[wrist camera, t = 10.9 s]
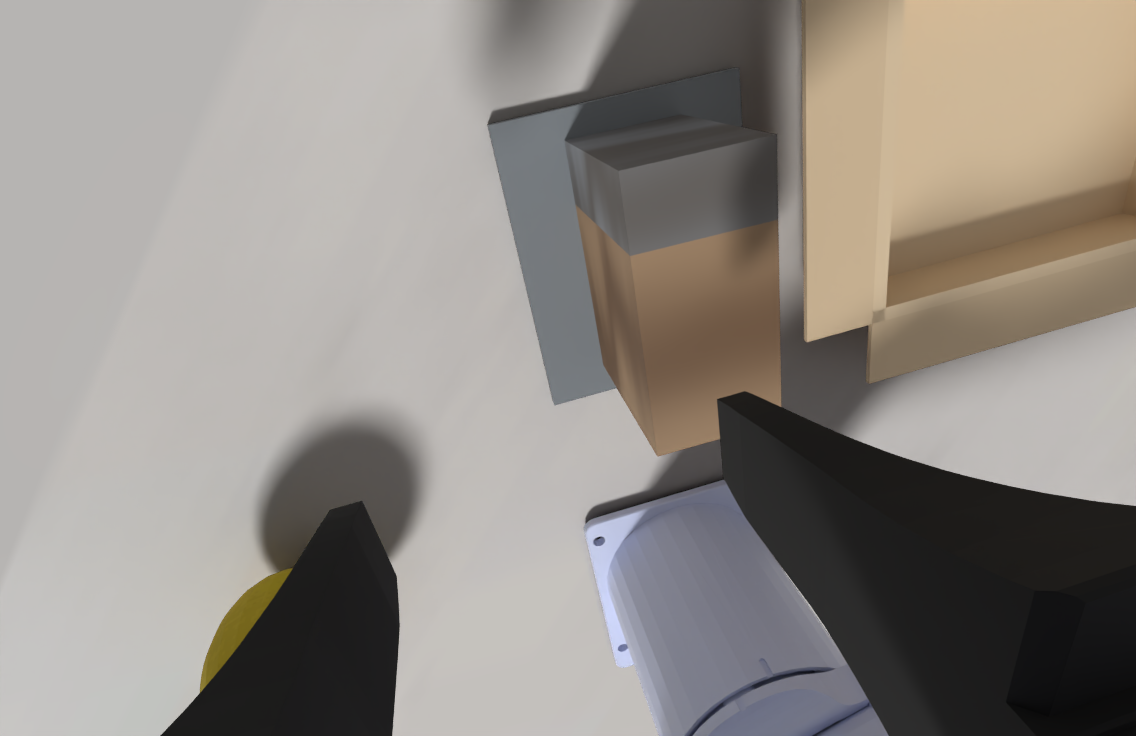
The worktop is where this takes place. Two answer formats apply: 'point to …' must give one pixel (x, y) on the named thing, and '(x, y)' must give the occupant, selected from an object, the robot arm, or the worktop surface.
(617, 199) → the walnut box
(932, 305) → the carton
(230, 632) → the lemon
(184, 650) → the worktop surface
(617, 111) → the rubber mat
